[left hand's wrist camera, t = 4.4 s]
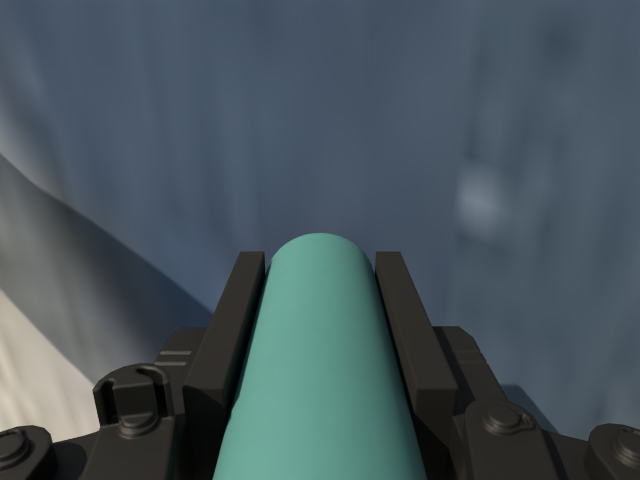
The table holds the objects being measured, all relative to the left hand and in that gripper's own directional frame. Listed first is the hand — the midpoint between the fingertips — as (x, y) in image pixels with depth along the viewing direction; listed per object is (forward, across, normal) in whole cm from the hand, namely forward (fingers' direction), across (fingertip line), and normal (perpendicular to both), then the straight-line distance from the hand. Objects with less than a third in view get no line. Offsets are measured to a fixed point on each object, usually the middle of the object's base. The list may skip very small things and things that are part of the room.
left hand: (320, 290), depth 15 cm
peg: (0, 0, 0) cm, 0 cm away
